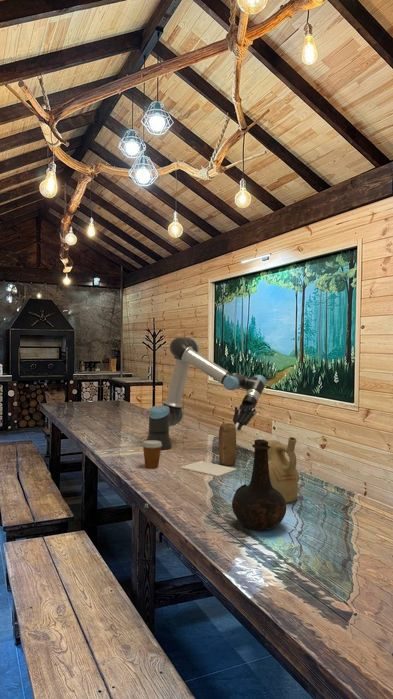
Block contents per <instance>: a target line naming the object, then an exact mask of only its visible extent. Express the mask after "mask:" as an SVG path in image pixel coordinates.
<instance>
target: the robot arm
mask: <svg viewBox="0 0 393 699" xmlns="http://www.w3.org/2000/svg"><path fill="white" fill-rule="evenodd" d="M199 350H200V349H199V344H198V342H197V341H196V340H195V339H193V338H190V337H179V336H178V337H176V338H174V339H172V341H171V342H170V344H169V351H170V353H171V355H172V356H173V359H174V361H175V364H174V367H173V372H172V376H171V381H170V384H169V388H168V394H167V398H166V399H165V400H164V401H163V403H162V405H161V404H160V405H159V404H158V405H154V406H152V407H150V408H149V412H148V435H147V438H146V441H147V440H157V441H161V444H162V447H161V451H164V449H166V450H170V449H172V448H173V447H172V446H173V445H172V442H171V437H170V436H171V435H170V427H172V426H176V425H177V424H180V422H181V421H182V419H183V416H184V411H183V404H182V399H183V395H184V390H185V387H186V382H187V377H188V373H189V369H190V365H191V366H193V367H194V368H196V369H197V370H200V371H201V372H202V373H204V374H205V375H207V376H208V377H210V378H212V379H213V380H215V381H217V382H218V383H220V384H221V385H223V387H224V388H225V389H226V390H228V391H235V390H239V389H242V390H245V391H246V393H245V395H244V397H243V399H242V401H241V404H240V405H239V406H238V407H237V406H235V407H234V414H233V419H232V422H233V424H234V425H235V426H236V436H238V433H239V431H241V429H242V428H243V426H247V425H249V422H251V420H252V418H254V417H255V415H256V414H257V413H258V412H257V410H256V406H257V404H258V402H259V400H260V398H261V395H262V393H263V392H264V390H265V387H266V384H267V378H266V377H265V376H263V375H261V374H255V375H254V377H252V376H248V375H243V374H241V373H236V372H233V373H231V372H229V371H228V370H227V369H225V368H223V367H221V366H220V365H218V364H217V363H215V362H214V361H212V360H210V359H209V358H207V357H205V356H204V355H202V354H200V353H199ZM171 447H172V448H171ZM169 448H170V449H169Z"/></svg>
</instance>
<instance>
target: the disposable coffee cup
mask: <svg viewBox="0 0 393 699" xmlns="http://www.w3.org/2000/svg"><path fill="white" fill-rule="evenodd" d="M161 447H162V444H161V441H157V440H147V439H146V440H143V442H142V448H143V449H142V450H143V457H144V467H145V468H146V469H151V468H152V469H158V468H159V464H160V458H161V451H162V450H161ZM157 467H158V468H157Z"/></svg>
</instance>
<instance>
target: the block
mask: <svg viewBox="0 0 393 699" xmlns="http://www.w3.org/2000/svg"><path fill="white" fill-rule="evenodd" d="M218 459H219V463H220V464H219V465H222V466H227V467H232V466H235V464H236V461H237V460H236V459H237V435H236V426H235V425H234V423H231V422H230V423H229V422H228V423H221V424H220V426H219V430H218Z"/></svg>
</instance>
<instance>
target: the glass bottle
mask: <svg viewBox="0 0 393 699" xmlns="http://www.w3.org/2000/svg"><path fill="white" fill-rule="evenodd" d="M253 442H254V444H252V445H251V447H252V448H254V453H253V463H252V465H253V466H252V471H251V472H252V473H251V478H250V481H249V484H248V485H247V484H246V483H244V484H242V485H241V486H240V487H238V488H237V489H236V490H235V493H234V495H233V496H232V500H231V508H232V511H233V513H234V516H235V517H236V519H237V520H238V521H239V523H241V525H242V526H244V527H246V528H248V529H251V530H255V531H266V530H268V531H269V530H271V529H273V528H275V527H276V526H278V525H279V524H281V522H282V521H283V520H284V518H285V516H286V514H287V503H286V502H285V499H284V497H283V496H282V494H281V493H280V492H279V491H277V490H276V489H274V488H273V487H272V485H271V481H270V475H269V465H268V449H270V448H271V447H270V446H268V442H269V441H267V440H266V439H255V440H253Z"/></svg>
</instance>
